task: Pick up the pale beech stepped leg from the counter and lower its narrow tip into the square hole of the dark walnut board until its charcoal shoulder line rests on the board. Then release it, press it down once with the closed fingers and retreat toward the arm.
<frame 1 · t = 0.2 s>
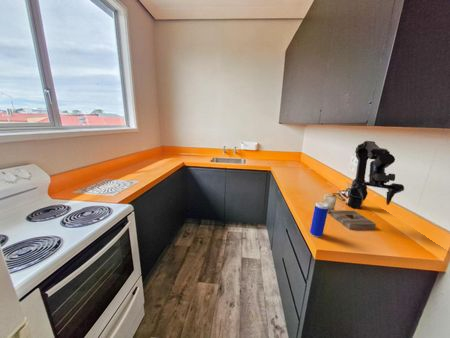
hand: (375, 202, 86), 15 cm above the counter, tool tilted 30°, fingers open, 9 cm apart
socket board: (350, 221, 96), on the counter
beverage can: (315, 234, 83), on the counter
beech leg: (327, 211, 106), on the counter
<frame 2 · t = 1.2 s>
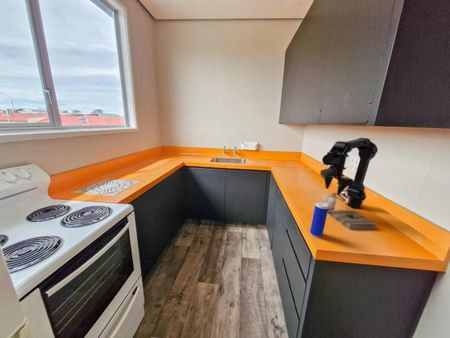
hand: (332, 191, 103), 13 cm above the counter, tool pointing down, fingers open, 9 cm apart
nothing on the counter moved.
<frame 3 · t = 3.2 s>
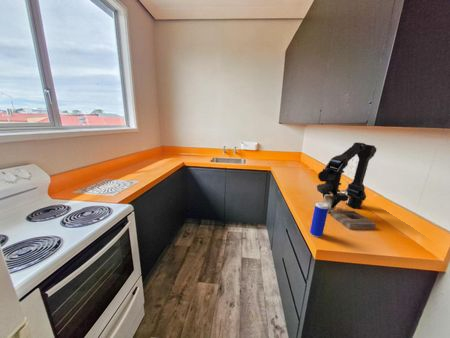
hand: (328, 205, 105), 4 cm above the counter, tool pointing down, fingers closed on beech leg, 6 cm apart
beech leg: (327, 211, 106), on the counter, touching gripper
everything else where it was.
when the fingers open (5 cm above the counter, at t = 8.8 s): beech leg stays where it is, resting on socket board.
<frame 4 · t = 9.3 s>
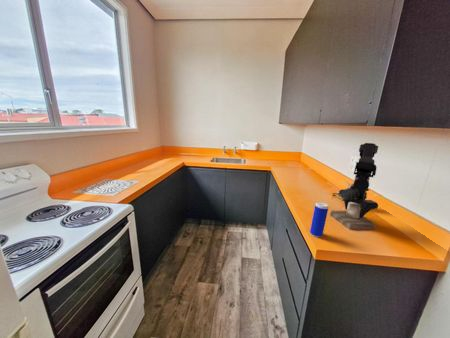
hand: (353, 213, 95), 5 cm above the counter, tool pointing down, fingers open, 9 cm apart
beech leg: (350, 221, 96), resting on socket board
everything else where it was.
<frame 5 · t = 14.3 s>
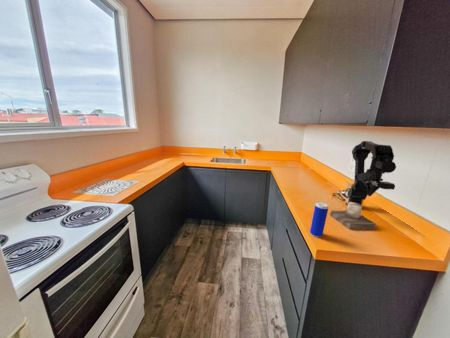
hand: (369, 195, 99), 13 cm above the counter, tool pointing down, fingers closed
nothing on the counter moved.
at the end: beech leg 0.0 cm off-centre on the socket board, point 0.2 cm above the socket board's base; beech leg tilted 0°; the gripper is holding nothing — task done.
